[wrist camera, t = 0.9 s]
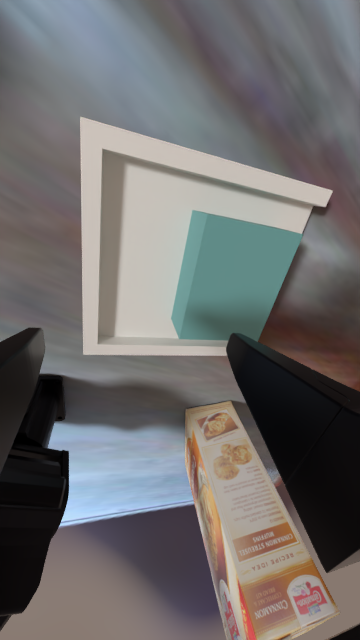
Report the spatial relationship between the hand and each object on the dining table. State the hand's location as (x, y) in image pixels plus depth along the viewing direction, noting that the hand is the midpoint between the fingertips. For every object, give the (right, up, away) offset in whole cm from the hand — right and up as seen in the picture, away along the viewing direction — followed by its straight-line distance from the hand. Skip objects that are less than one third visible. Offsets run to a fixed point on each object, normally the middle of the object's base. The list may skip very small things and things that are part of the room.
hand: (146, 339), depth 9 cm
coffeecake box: (+5, -17, +26) cm, 32 cm away
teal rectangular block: (+5, +5, +12) cm, 14 cm away
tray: (+3, +6, +12) cm, 13 cm away
